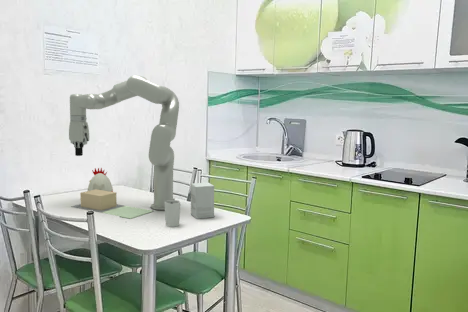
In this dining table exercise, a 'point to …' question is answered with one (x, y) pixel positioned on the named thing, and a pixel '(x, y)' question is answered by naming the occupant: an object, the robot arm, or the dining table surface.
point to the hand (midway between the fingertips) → (79, 155)
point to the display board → (120, 211)
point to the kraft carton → (98, 199)
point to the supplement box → (202, 200)
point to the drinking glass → (172, 212)
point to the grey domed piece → (100, 181)
